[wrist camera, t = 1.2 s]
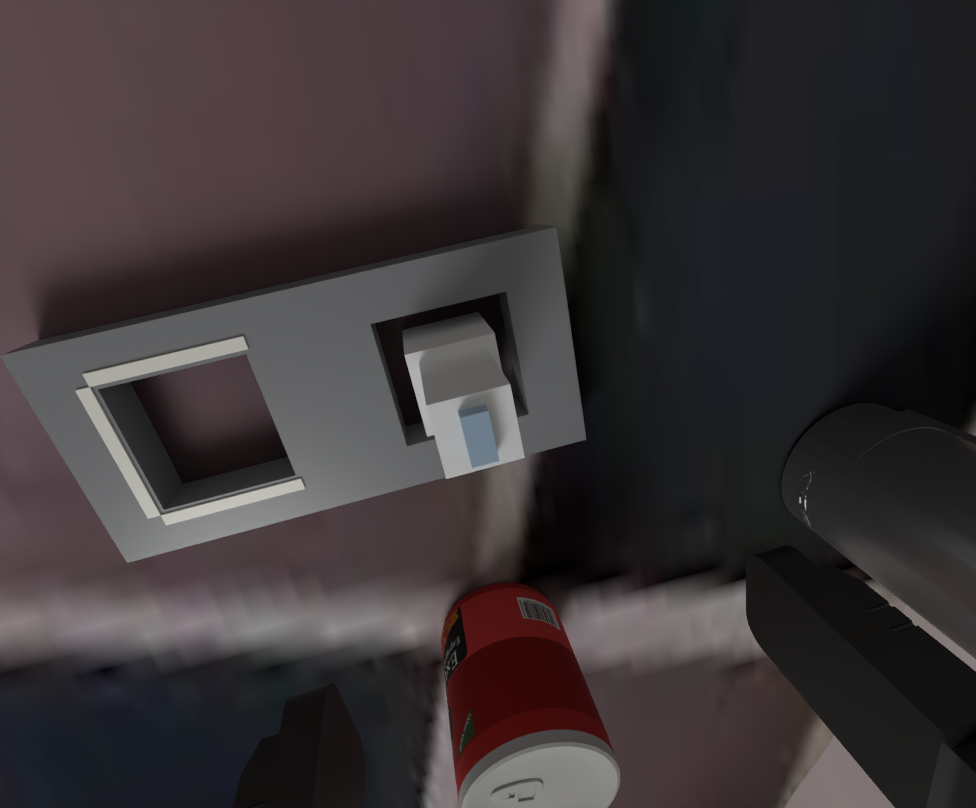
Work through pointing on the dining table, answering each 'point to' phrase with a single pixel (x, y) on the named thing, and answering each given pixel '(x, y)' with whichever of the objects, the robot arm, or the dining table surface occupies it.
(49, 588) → the dining table surface
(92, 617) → the dining table surface
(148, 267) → the dining table surface
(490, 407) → the plug
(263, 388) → the panel
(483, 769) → the canned food
